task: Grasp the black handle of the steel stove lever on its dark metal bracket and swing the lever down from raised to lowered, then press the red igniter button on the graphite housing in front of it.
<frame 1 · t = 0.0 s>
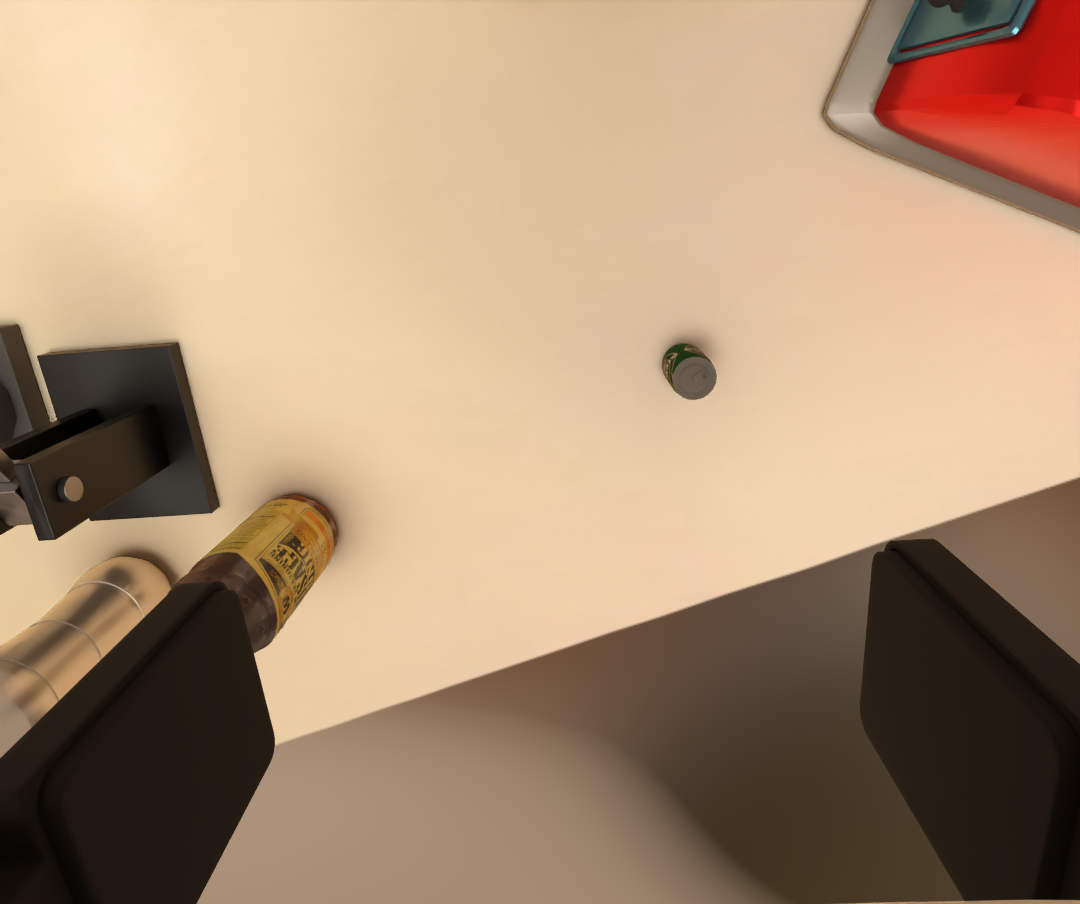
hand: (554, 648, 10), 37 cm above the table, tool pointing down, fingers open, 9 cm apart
plastic bottle: (143, 583, 53), on the table
bracket: (137, 432, 48), on the table
beer can: (682, 363, 46), on the table
sauce bottle: (300, 525, 51), on the table
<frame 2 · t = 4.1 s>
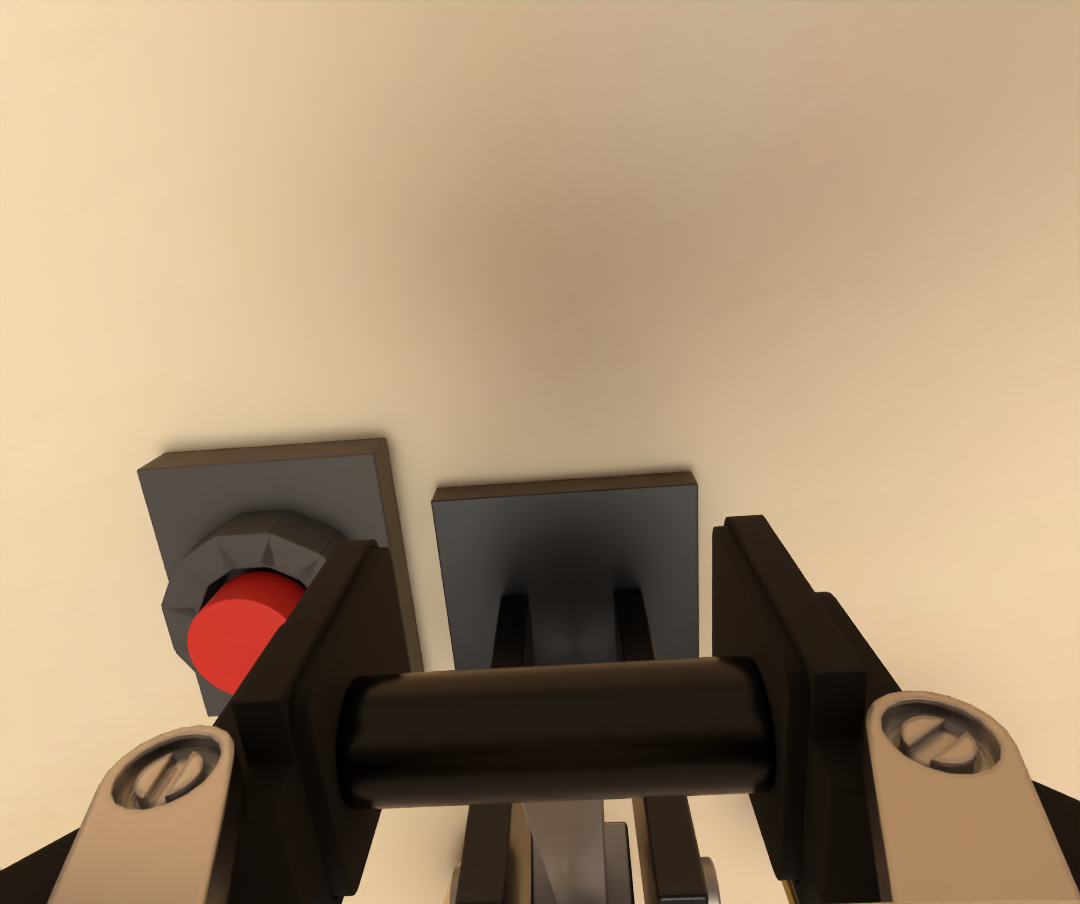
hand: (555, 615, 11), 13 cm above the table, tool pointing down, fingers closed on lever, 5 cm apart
bracket: (573, 625, 26), on the table
lever: (574, 843, 12), point 13 cm above the table, hinge at 28.0°, touching gripper
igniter: (301, 571, 26), on the table
button: (256, 633, 22), point 4 cm above the table, slide at 0.2 cm
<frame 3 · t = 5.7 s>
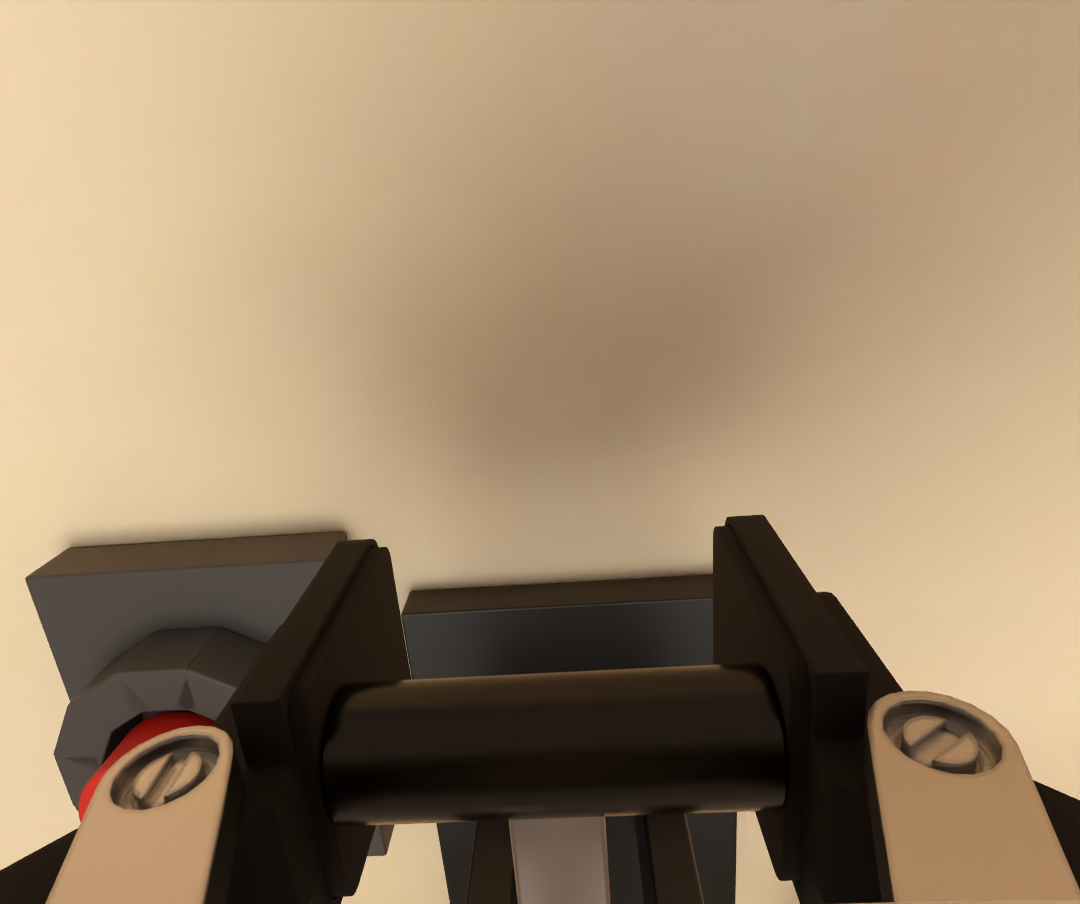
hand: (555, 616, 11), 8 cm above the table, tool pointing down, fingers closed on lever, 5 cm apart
bracket: (581, 752, 21), on the table
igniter: (244, 687, 21), on the table
button: (173, 794, 17), point 4 cm above the table, slide at 0.2 cm
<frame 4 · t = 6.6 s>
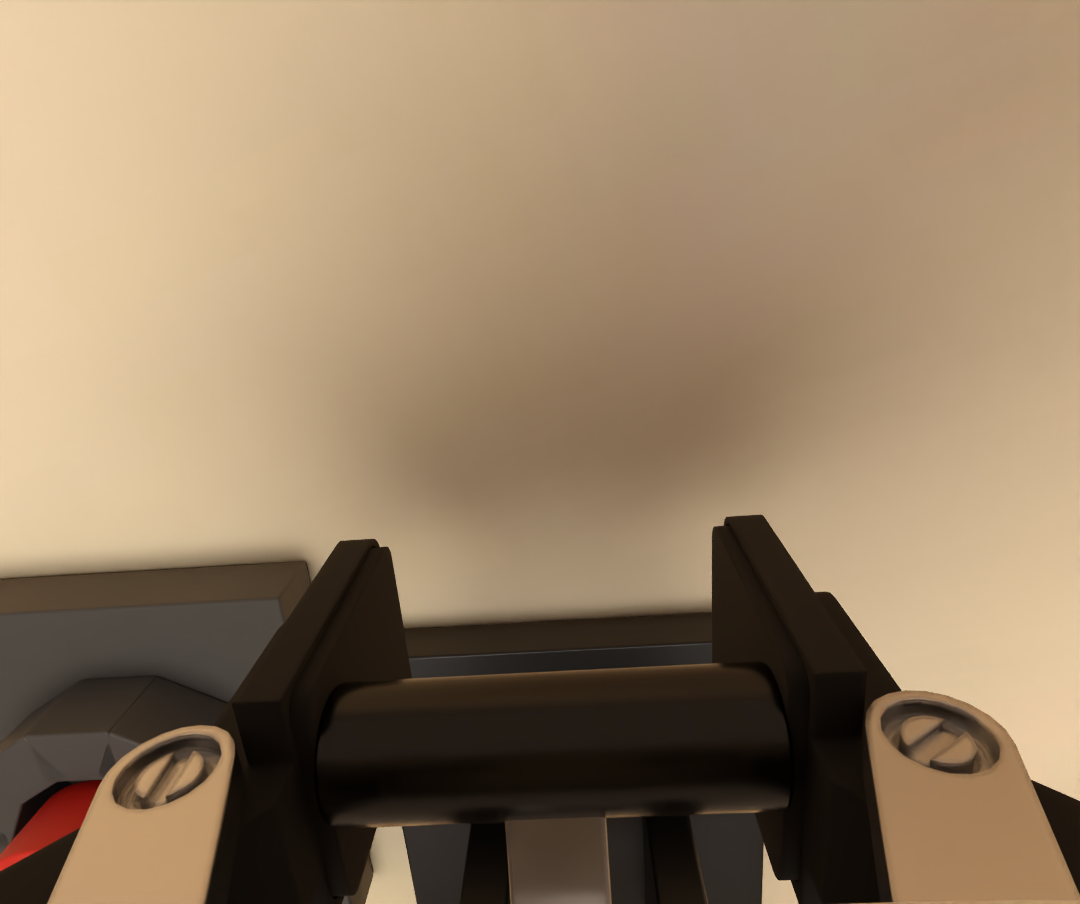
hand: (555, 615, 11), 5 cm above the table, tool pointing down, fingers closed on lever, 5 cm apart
bracket: (581, 812, 19), on the table
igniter: (193, 738, 18), on the table
button: (95, 879, 14), point 4 cm above the table, slide at 0.2 cm
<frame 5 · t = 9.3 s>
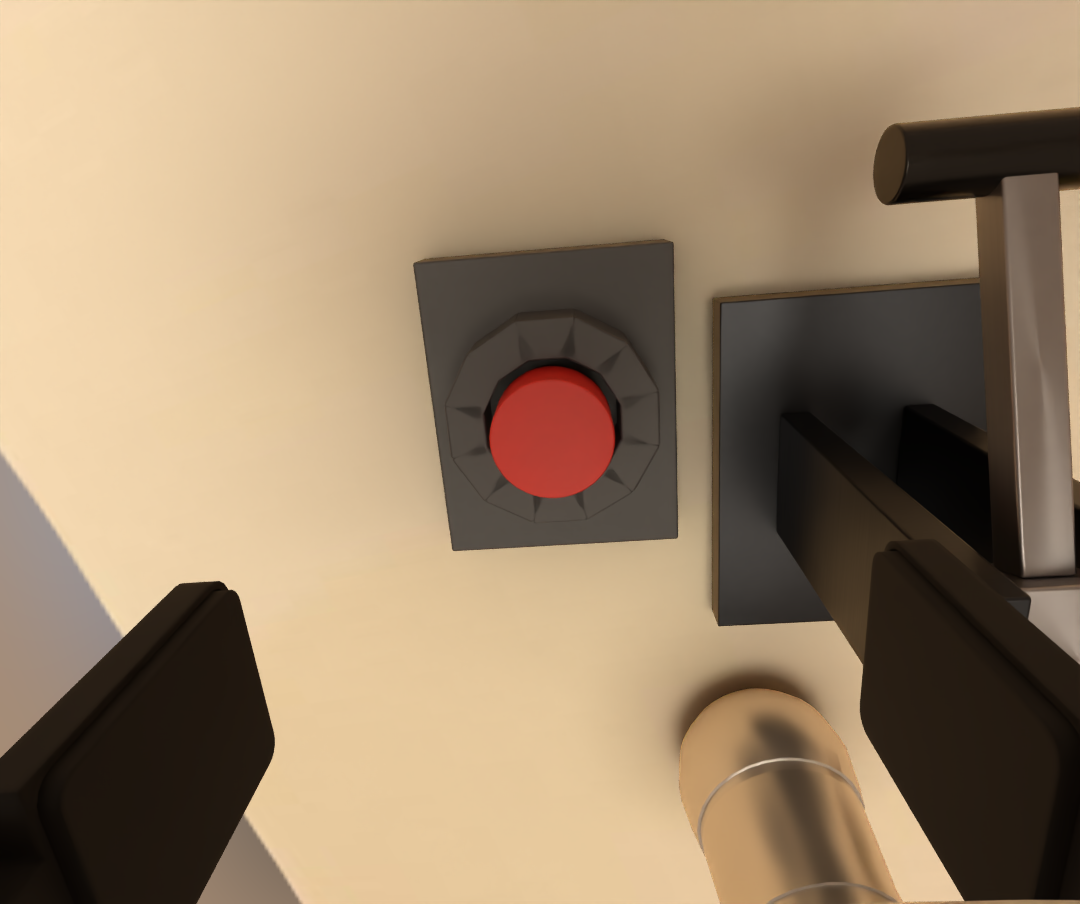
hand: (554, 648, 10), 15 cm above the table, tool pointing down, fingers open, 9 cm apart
plastic bottle: (746, 728, 29), on the table
bracket: (839, 458, 25), on the table
lever: (1026, 414, 14), point 10 cm above the table, hinge at -17.9°
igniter: (554, 396, 24), on the table
button: (552, 431, 20), point 4 cm above the table, slide at 0.2 cm
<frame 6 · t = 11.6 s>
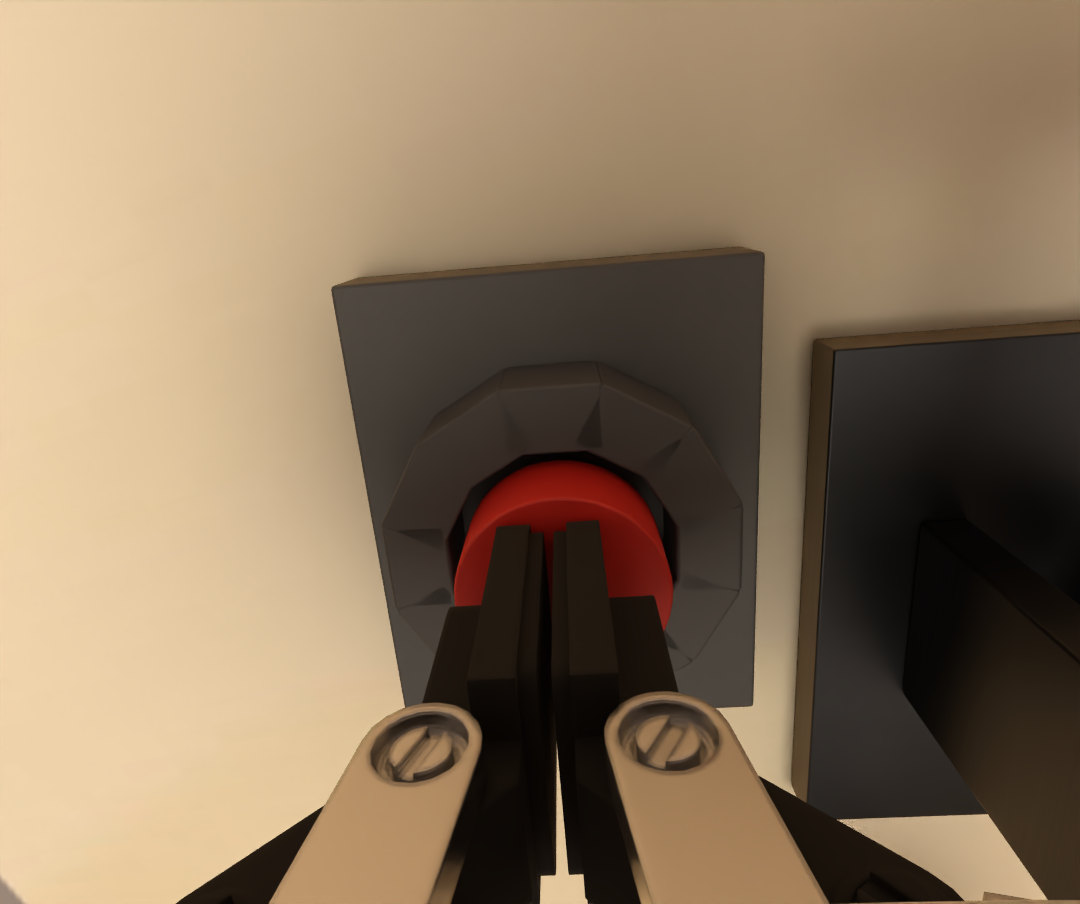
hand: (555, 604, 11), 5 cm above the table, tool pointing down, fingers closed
bracket: (994, 577, 16), on the table
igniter: (562, 486, 16), on the table
button: (562, 572, 12), point 4 cm above the table, slide at 0.1 cm, touching gripper
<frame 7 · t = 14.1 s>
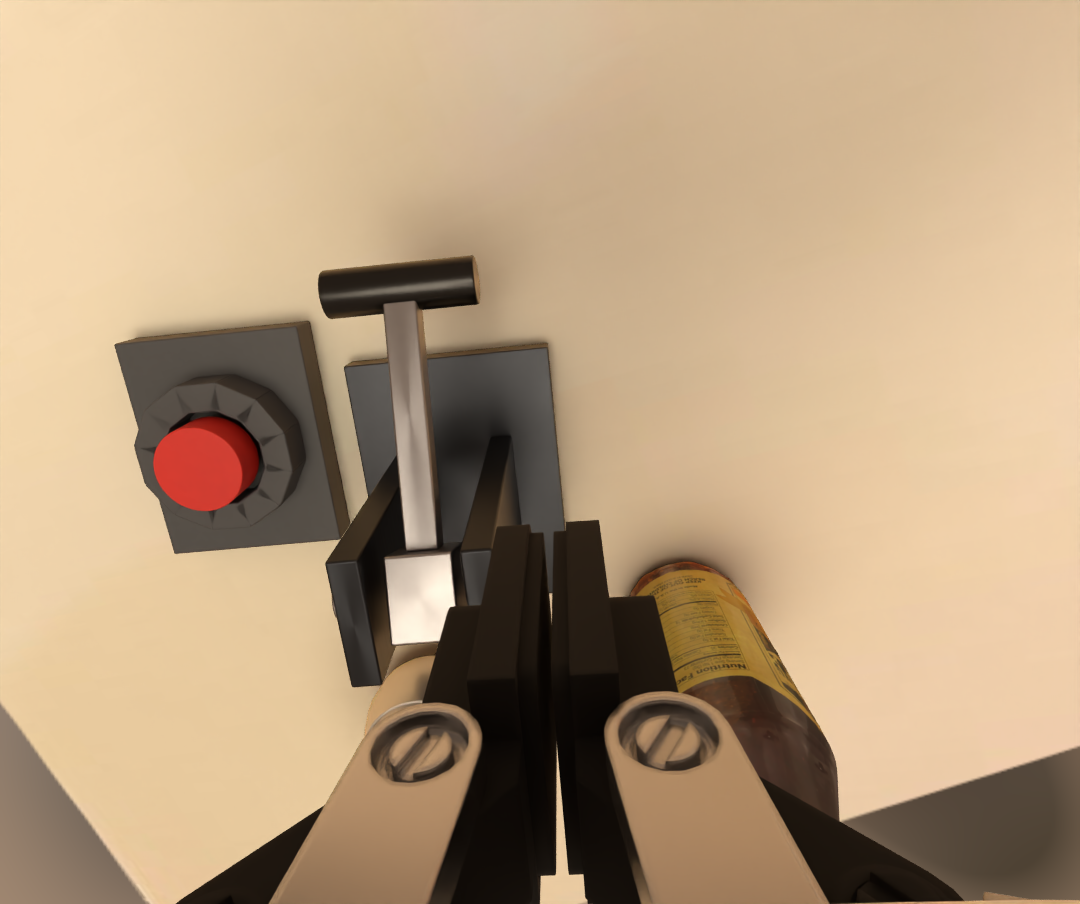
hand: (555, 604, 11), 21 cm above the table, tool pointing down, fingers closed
plastic bottle: (440, 688, 37), on the table
bracket: (466, 476, 33), on the table
lever: (415, 448, 23), point 10 cm above the table, hinge at -17.9°
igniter: (247, 435, 33), on the table
sauce bottle: (680, 603, 35), on the table
button: (207, 463, 29), point 4 cm above the table, slide at 0.1 cm
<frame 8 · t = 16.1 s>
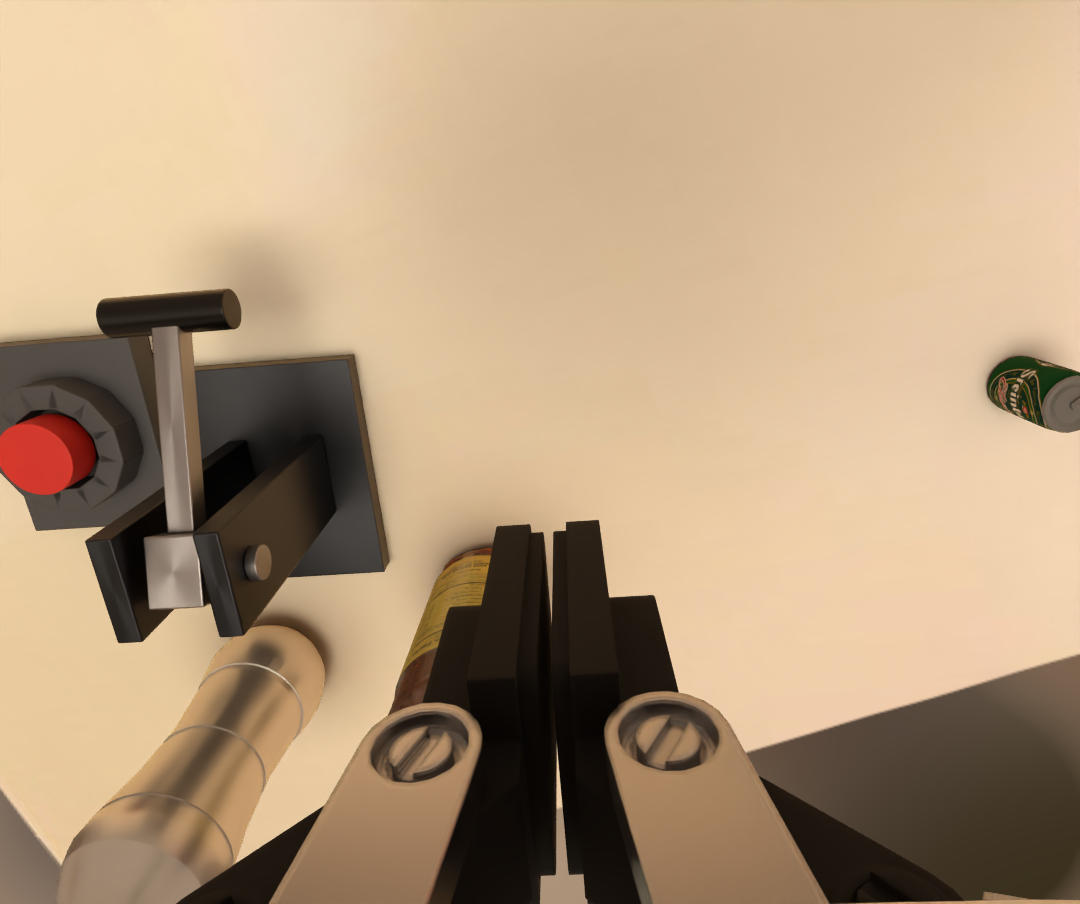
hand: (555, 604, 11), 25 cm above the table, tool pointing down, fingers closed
plastic bottle: (283, 655, 42), on the table
bracket: (291, 468, 38), on the table
lever: (181, 448, 27), point 10 cm above the table, hinge at -17.9°
beer can: (1011, 381, 35), on the table
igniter: (99, 429, 37), on the table
sauce bottle: (489, 585, 40), on the table
button: (47, 454, 33), point 4 cm above the table, slide at 0.1 cm
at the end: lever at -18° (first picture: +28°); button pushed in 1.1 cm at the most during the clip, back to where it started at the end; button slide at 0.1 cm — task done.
